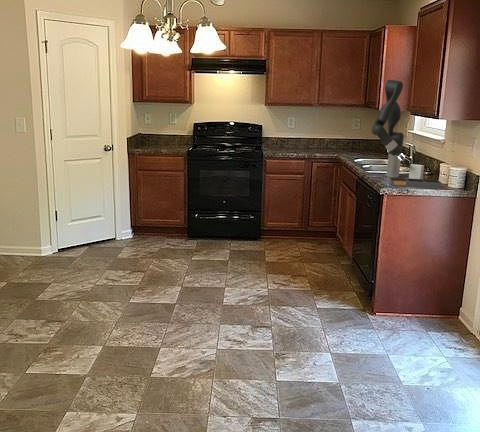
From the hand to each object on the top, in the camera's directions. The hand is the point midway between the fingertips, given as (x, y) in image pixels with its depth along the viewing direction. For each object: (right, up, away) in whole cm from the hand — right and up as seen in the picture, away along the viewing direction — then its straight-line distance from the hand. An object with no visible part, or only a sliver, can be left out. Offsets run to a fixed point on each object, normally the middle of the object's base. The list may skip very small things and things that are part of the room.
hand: (407, 164), depth 363 cm
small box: (+6, -13, +3) cm, 15 cm away
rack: (+2, -16, -9) cm, 18 cm away
